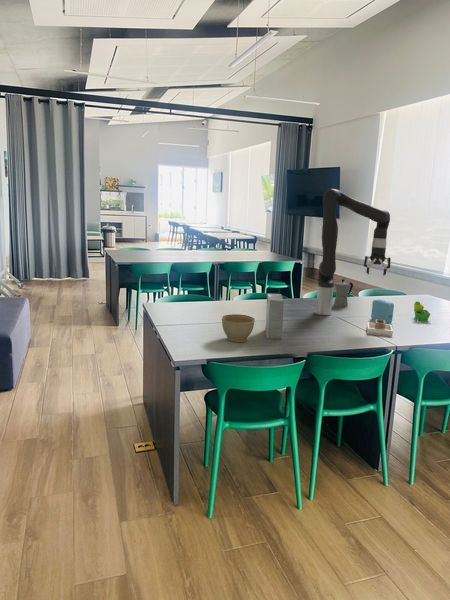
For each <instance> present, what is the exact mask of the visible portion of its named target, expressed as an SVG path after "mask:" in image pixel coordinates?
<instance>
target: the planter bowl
mask: <svg viewBox="0 0 450 600" xmlns="http://www.w3.org/2000/svg"><path fill="white" fill-rule="evenodd" d="M255 320H256V319H255V317H253V316H250V315H246V314H240V313H239V314H238V313H237V314H235V313H234V314H233V313H231V314H224V315H222V316H221V325H222V329H223V332H224V334H225V336H226V338H227V340H228V341H230V342H233V343H234V342H235V343H243V342H246V341H247V340H248V338H249V336H250V335H251V334H252V332H253V329H254V326H255Z"/></svg>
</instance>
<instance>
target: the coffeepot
mask: <svg viewBox="0 0 450 600" xmlns="http://www.w3.org/2000/svg"><path fill="white" fill-rule="evenodd" d="M334 287H335V293H336V296H335V298H334V301H333V305H334V306H335V307H338V308H339V307H340V308H346V307H348V306H349V303H348V296H347V295H351V292H352V290H353V287H354V284H353V282H351V281H350V282H346V281H345V279H344V278H342V279H341V281H339V282H335V283H334Z"/></svg>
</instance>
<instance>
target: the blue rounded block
mask: <svg viewBox="0 0 450 600" xmlns="http://www.w3.org/2000/svg"><path fill="white" fill-rule="evenodd" d="M394 308H395V303H393V302H391V301H386V300H384V299H374V300H372V304H371V313H370V314H371V315H370V319H371V320H373V321H376V319H377V320H385V324H390V323H392V322H393V319H394V316H393V315H394Z"/></svg>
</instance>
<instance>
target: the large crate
mask: <svg viewBox="0 0 450 600" xmlns="http://www.w3.org/2000/svg"><path fill="white" fill-rule="evenodd" d="M366 333H367V335H373V336H374V335H375V336H385V337H393V333H394V330H393V325H392V324H390V323H385V330H382V329H375V322H369V321H367V323H366Z"/></svg>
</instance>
